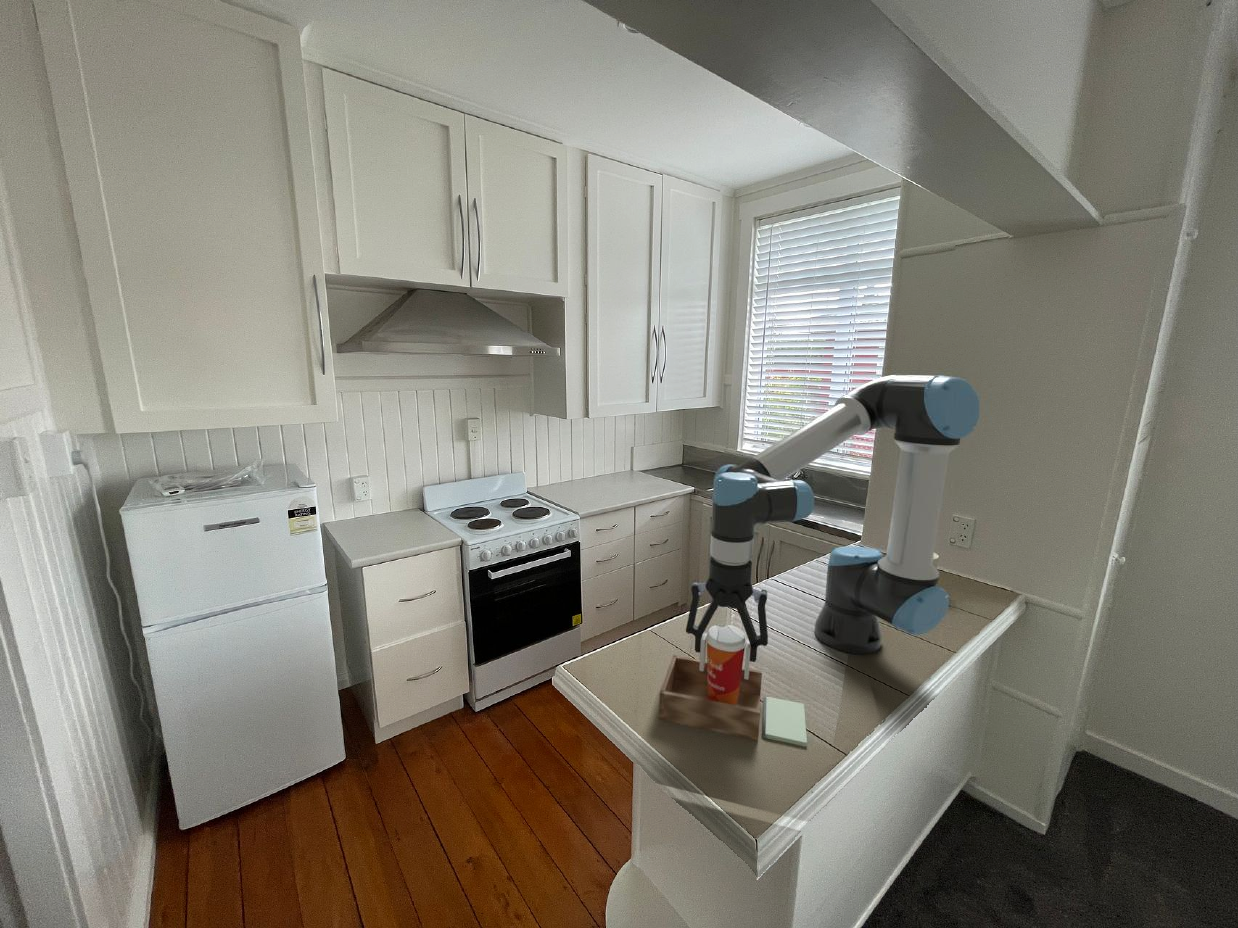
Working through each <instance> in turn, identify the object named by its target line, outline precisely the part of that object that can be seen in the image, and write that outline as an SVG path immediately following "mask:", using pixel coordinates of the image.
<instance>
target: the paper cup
mask: <svg viewBox="0 0 1238 928" xmlns="http://www.w3.org/2000/svg"><path fill="white" fill-rule="evenodd" d="M706 633H707V634H706V637H705V639H706V657H707V659H706V661H707V683H708V700H712V701H717V702H722V703H727V704H732V705H736V704H737V700H738V694H739V687H740V680H741V672H742V667H743V663H744V657H745V650H746V645H747V640H748V639H747V638H746V633H745V632H743V630H742V629H740V628H738V627H736V626H734V625H731V624H727V625H725V624H719V625H716V624H715V625H713V626H711V627H709V628H708V630H707V632H706Z"/></svg>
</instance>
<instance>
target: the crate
mask: <svg viewBox="0 0 1238 928" xmlns="http://www.w3.org/2000/svg"><path fill="white" fill-rule="evenodd" d="M699 669H700V659H697V658H690V657H685V656H682V655H675V654H673V655H672V657H671V660H670V663H669V665H668V668H667V672H666V675H665V676H664V677H665V678H664V679H663V682H662V686H661V688H660V691H659V700H658V701H659V703H658V704H659V706H658V707H659V709H658V720H662V721H666V722H670V723H675V724H679V725H684V726H689V727H693V728H698V729H704V730H706V731H712V732H716V733H721V734H727V735H730V736H734V737H739V738H744V739H748V740H749V739H750V740H754V741H759V733H760V732H759V731H760V722H761V721H760V720H761V719H760V717H761V709H760V708H761V690H762V680H763V679H762V678H763V677H762V676H763V670H761V669H760V670H758V669H753V668H749V677H748V680H747V679H744V674H745V667H743V666H742V672H741V680H740V687H739V694H738V700H737V704H736V705H732V704H727V703H722V702H717V701H712V700H708V683H707V660H705V667H704V671H699Z"/></svg>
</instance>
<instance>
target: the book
mask: <svg viewBox="0 0 1238 928" xmlns="http://www.w3.org/2000/svg"><path fill="white" fill-rule="evenodd" d="M761 719H762V721H761V739H764V740H767V739H769V740H773V741H778V742H783V743H787V744H792V745H796V746H801V747H806V748H807V746H808V740H807V739H808V736H807V727H806V725H807V724H806V713H805V704H804V703H801V702H796V701H791V700H786V699H782V698H776V697H771V696H766V697H763V698H762V718H761Z"/></svg>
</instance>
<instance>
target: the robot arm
mask: <svg viewBox="0 0 1238 928" xmlns="http://www.w3.org/2000/svg"><path fill="white" fill-rule="evenodd" d="M980 405H981V404H980V398H979V396H978V393H977V391H976V390H975V389H974V387H973V385H972V384H971V383H970V382H969V381H967V380H965V379H964V378H961V377H956V376H955V377H954V376H949V375H948V376H947V375H942V374H939V375H921V374H920V375H917V374H916V375H915V374H913V375H912V374H891V375H890V374H889V375H885V376H881V377H878V378H877V379H876V378H875V379H874V380H871V381H869V382H866V383H864V384H862V385H860V386H858V387H856V388H855V389H853V390H851V391H849V392H847V393H846V394H844V395H843V396H841V397H839V398H838V399H837V400H836V401H835V402H834V407H832V408H830V409H829V410H827V411H825V412H824V413H822V414H821V415H819V416H817V417H816V418H814V419H813V420H811V421H809V422H807V423H806V424H805V425H803V426H801V427H800V428H797V429H796V430H795V431H792V432H791V433H790V434H788V435H786V436H785V437H783V438H782V439H781V440H779V441H777V442H775V443H774V444H772V445H769V447H768V448H766V449H764V450H762V451H761V452H759V453H757V454H756V455H754V456H752V457H751V458H749V459H748V460H746V461H744V462H743V463H741V464H730V463H729V464H725V465H723V466H721V467H719V468H718V469H717V471H716V473H714V478H713V490H712V497H711V501H712V506H711V507H712V508H711V532H710V546H709V550H710V551H709V554H710V558H709V565H708V566H709V569H708V570H709V571H708V578H707V581H706V582H699V580H695V581H693V582H692V585H691V589H690V590H691V596H692V600H691V603H690V609H689V613H688V618H687V622H686V623H687V624H686V627H685V632H686V633H687V634H688V635H689V634H690V635H693V636H694V640H695V641H694V651H695V653H699V655H700V656H699V660H700V669H699V671H704V667H705V661H706V657H707V641H706V639H705V637H706V634H707V633H708V632H705V631H706V628H707V627H708V625H709V624H710V622H711V620H712V618H713V616H714V614H715V613H716V611H717V609H718V608H719V607H721V608H730V609H735V610H736V611H737V614H738V616H739V617H740V620H741V623H742V625H743V627H744V631H745V635H746V637H747V639H746V640H747V645H746V647H745V658H744V661H745V662H744V668H745V674H744V679H747V680H748V677H749V669H750V665H751V664H750V663H751V662H752V663H756V662H757V655H758V647H759V646H763V647H766V646H768V643H769V634H768V632H769V631H768V624H767V613H766V612H767V611H766V605H767V601H768V591H767V590H766V589H761V590H759V589H756V588H754V587H753V585H752V569H753V568H752V567H753V562H752V559H753V554H754V553H753V552H754V539H755V537H754V535H755V529H756V528H755V527H756V526H759V525H767V524H777V523H787V522H789V523H792V522H793V523H794V522H795V521H799V520H803V519H807V518H808V517H809V516H810V515H811V514H812V513H813V510H814V507H815V495H814V494H815V493H814V492H813V490H812V488H811V486H810V485H809V484H808V483H807V482H805V481H803V480H800V479H799V480H798V479H791V478H790V477H791V476H792V475H794V474H795V473H797V472H799V471H800V470H802V469H803V468H805V467H806V466H809V465H810V464H811V463H813V462H815V461H816V460H818V459H820V457H822V456H824V455H826V454H827V453H828V452H830V451H832V450H833V449H835V448H836V447H838V446H840V445H841V444H843V443H845V442H846V441H847V440H849V439H850V438H852V437H854V436H864V435H865V434H867V433H869V432H871V431H872V430H876V429H883V428H884V429H892V430H894V434H893V441H894V442H895V444H896V445H897V446H899V448H900V449H899V450H900V451H899V452H900V453H899V459H898V465H897V473H896V474H897V475H896V483H895V487H894V488H895V489H894V494H893V495H894V497H893V504H892V512H891V519H890V526H889V535H888V540H887V548H886V549H887V550H886V555H884V554H883V552H882V551H880V550H878V549H876V548H873V547H866V546H858V545H856V546H855V545H854V546H853V545H852V546H851V545H849V546H840V547H836V548H834V549H832V550H831V551H830V553H829V559H828V563H827V573H826V585H825V586H826V587H825V597H824V604H823V606H822V608H821V610H820V612H819V614H818V616H817V618H816V620H815V622H814V634H815V637H817V638H818V640H820V641H821V642H822V643H823V644H825V645H826V646H829V647H831V648H833V649H835V650H838V651H841V652H845V653H851V654H858V655H861V654H862V655H867V654H871V653H874V652H877V651H878V650H879V649H880V648H881V646H882V639H883V638H882V637H883V635H882V632H881V628H880V624H879V623H880V622H879V620H878V618H879V619H881V620H883V621H884V622H886V623H888V624H889V625H891V626H892V627H894V628H895V629H897V630H900V631H903V632H905V633H907V634H909V635H912V636H921V635H924V634H927V633H929V632H930V631H933V630H934V629H935V628H936V627H937V626H938V624H940V623H941V622H942V620H944V618H945V616H946V613H947V611H948V609H949V604H950V597H949V595H948V593H947V591H946V590H945V589H944V588H942V586H939V585H938V584H939V578H940V572H939V570H938V568H937V569H936V568H935V567H934V566H933V564H932V561H933V555H934V553H935V548H936V541H937V535H938V534H937V533H938V529H939V528H938V527H939V522H940V515H941V509H942V508H941V507H942V503H943V502H942V501H943V496H944V495H943V494H944V488H945V482H946V476H947V475H946V474H947V469H948V461H949V454H950V453H952V451H954V450H955V449H957V448H958V447H960V443H961V439H963V438H965V437H967V436H969V435H970V434H971V433H973V431H974V428H975V427H976V425H977V424H978V423H979V418H980V414H981V413H980V412H981V411H980V410H981V407H980ZM787 478H789V479H787ZM786 479H787V480H786ZM705 591H707V593H708V594H709V595H710V597H711V601H710V603H709V605H708V607H707V609H706V610H705V612H704V614H703V616H702V618H701V619H700V622H699V623H698V625H696V624H695V621H696V618H697V617H696V616H697V613H698V609H699V605H700V600H701V596H702V595H703V594H704V592H705ZM750 597H753V598H754V599H753V600H754V602H755V603H756V604H757V617H758V627H759V635H757V632H756V630H755V626H754V624H753V621H752V618H751V616H750V613H749V610H748V606H747V603H746V602H747V601H748V600H749V598H750Z"/></svg>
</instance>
